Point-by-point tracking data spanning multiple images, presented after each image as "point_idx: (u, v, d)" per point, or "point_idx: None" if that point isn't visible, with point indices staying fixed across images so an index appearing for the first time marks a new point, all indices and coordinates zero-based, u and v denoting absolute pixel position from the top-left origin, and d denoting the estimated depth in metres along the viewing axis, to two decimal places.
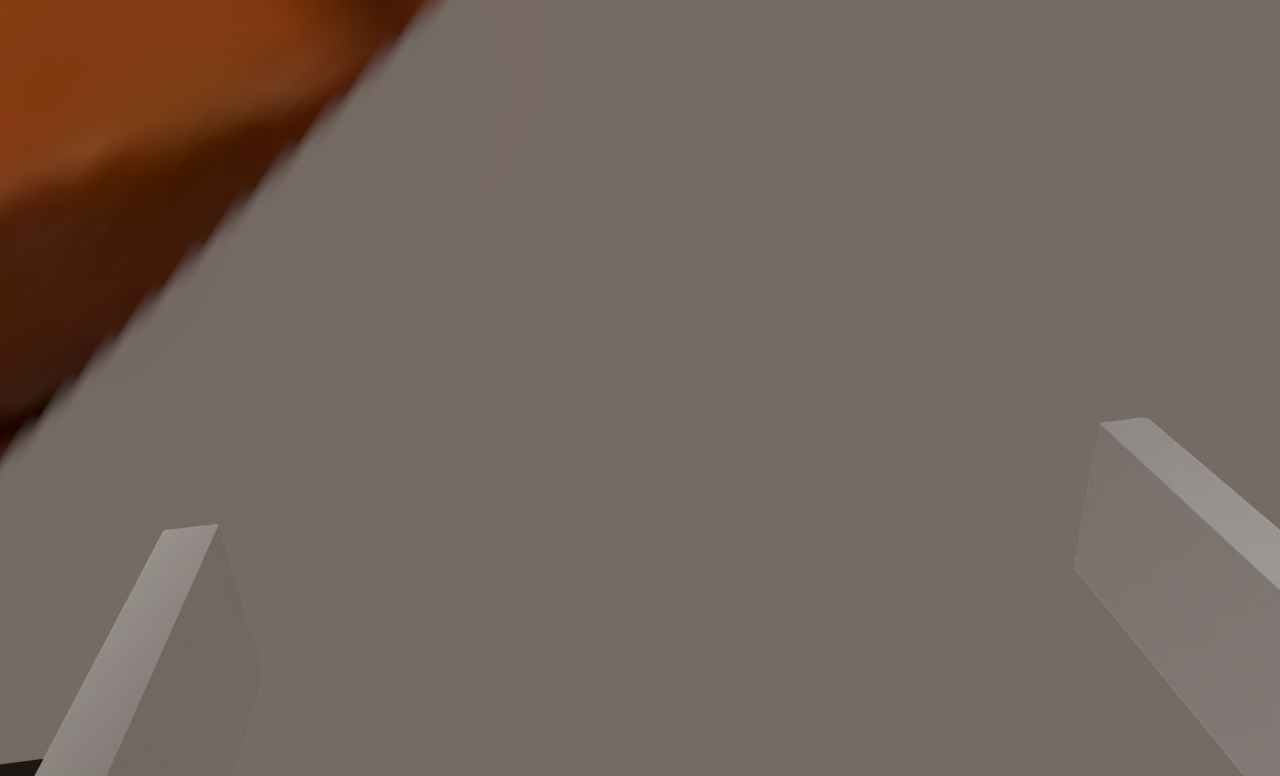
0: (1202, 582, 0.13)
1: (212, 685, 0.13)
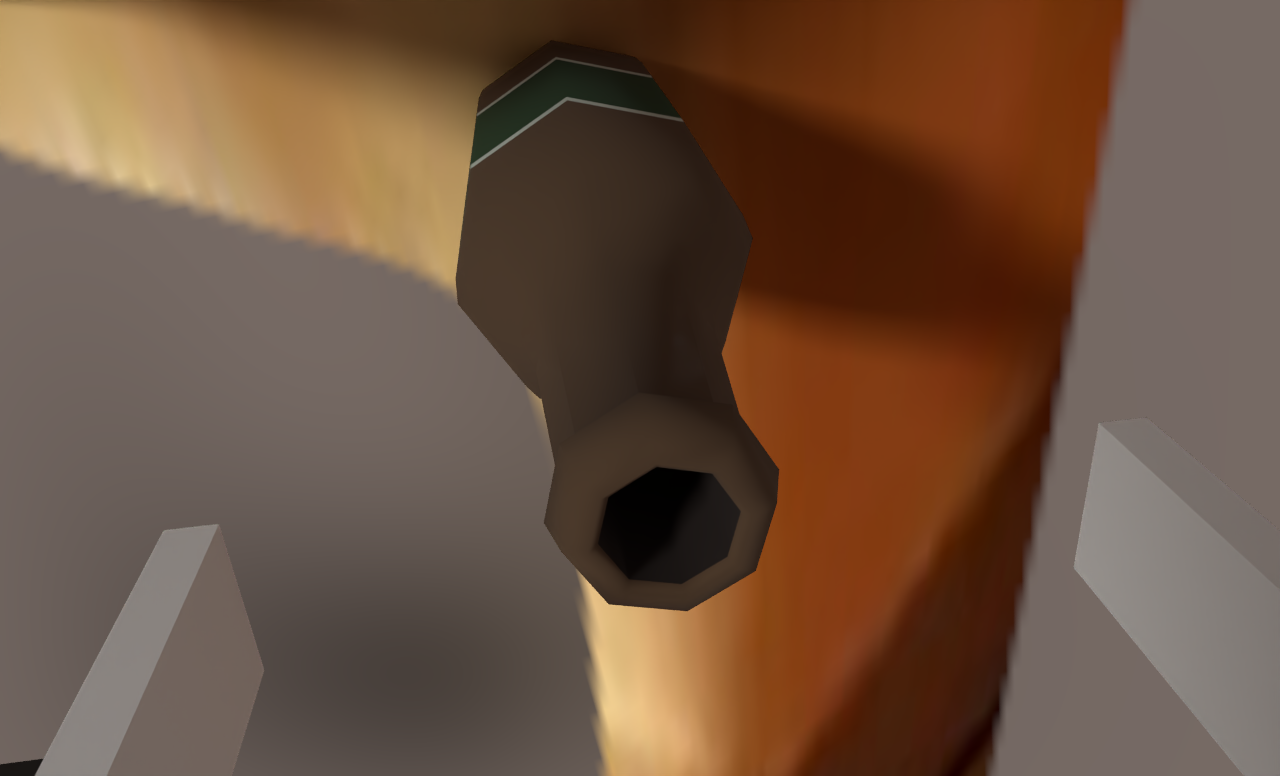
0: (1202, 582, 0.13)
1: (212, 685, 0.13)
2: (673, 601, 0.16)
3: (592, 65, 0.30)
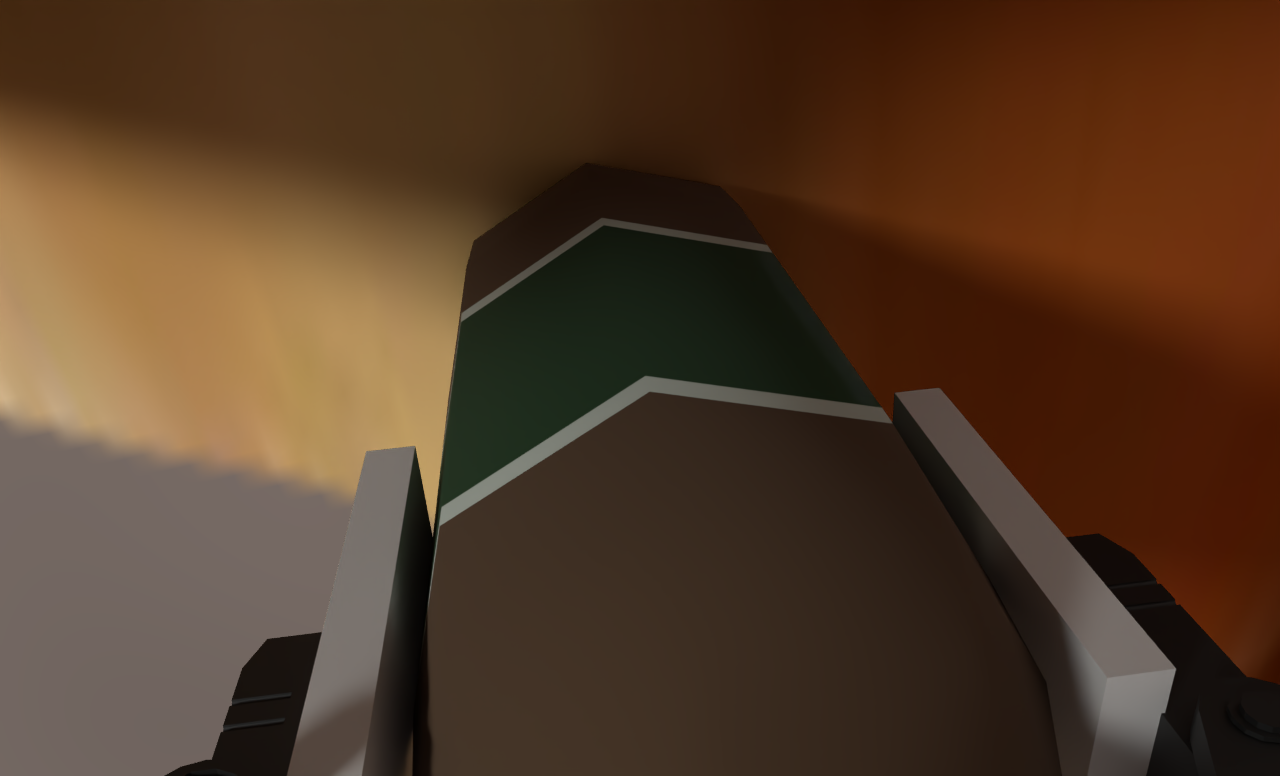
0: None
1: (420, 584, 0.15)
2: None
3: (666, 232, 0.17)
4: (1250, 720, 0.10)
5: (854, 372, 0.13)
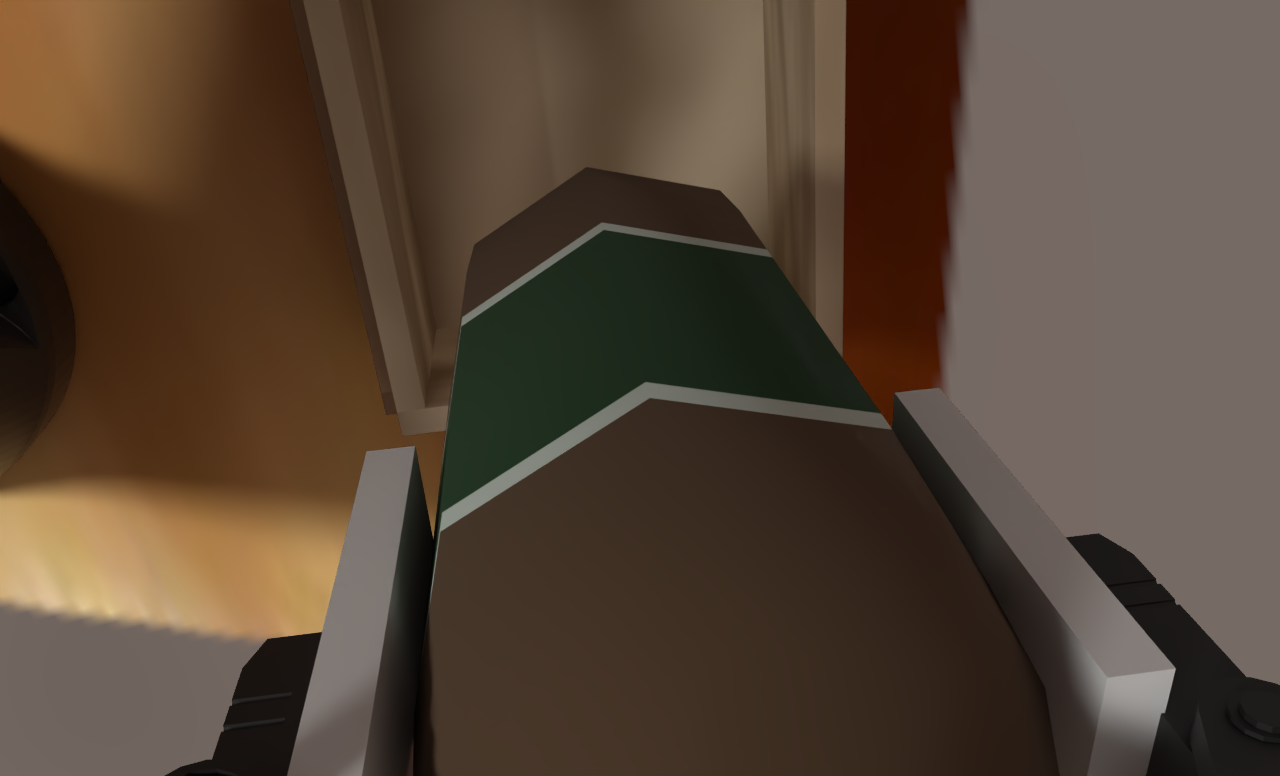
0: (959, 534, 0.14)
1: (420, 584, 0.15)
2: None
3: (666, 237, 0.17)
4: (1250, 720, 0.10)
5: (853, 378, 0.13)
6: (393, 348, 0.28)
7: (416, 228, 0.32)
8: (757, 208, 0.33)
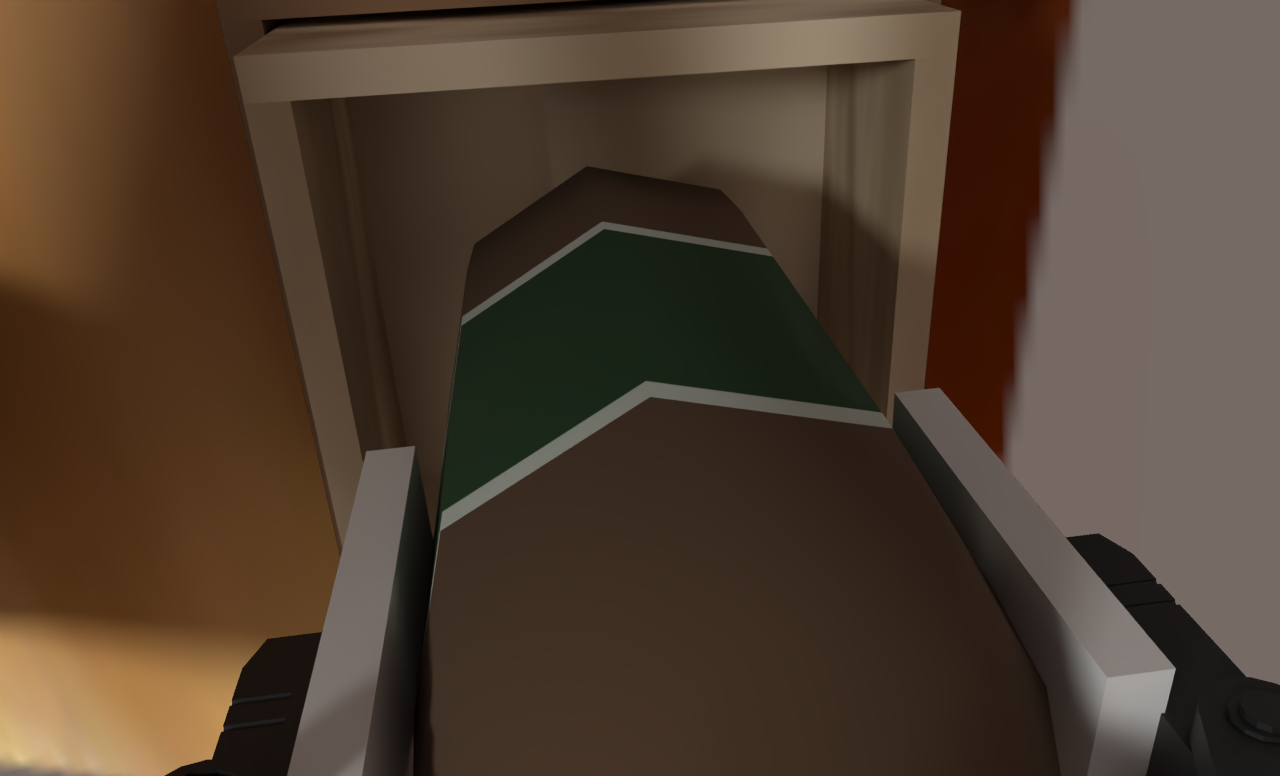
0: None
1: (421, 584, 0.15)
2: None
3: (667, 236, 0.17)
4: (1250, 720, 0.10)
5: (854, 377, 0.13)
6: None
7: (392, 364, 0.26)
8: None
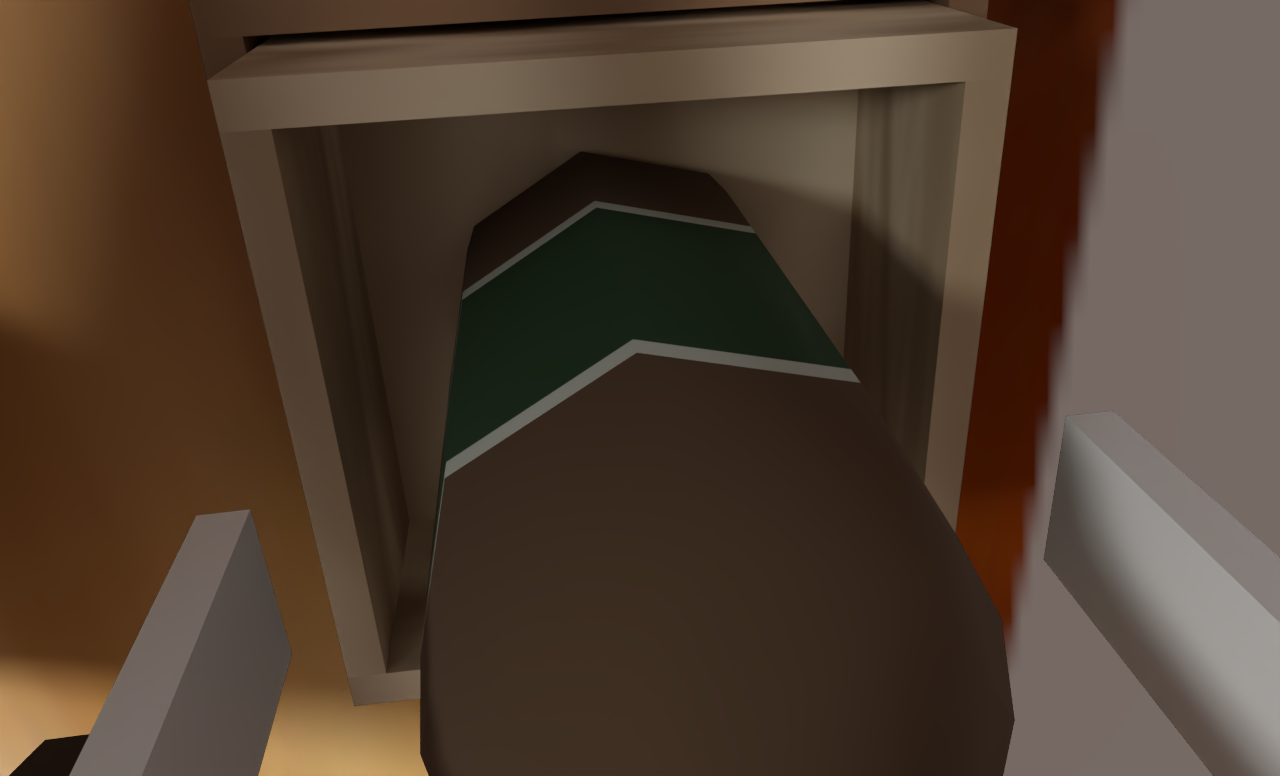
0: (1162, 571, 0.13)
1: (245, 665, 0.13)
2: None
3: (656, 214, 0.18)
4: None
5: (827, 339, 0.14)
6: (344, 602, 0.20)
7: (388, 402, 0.24)
8: None
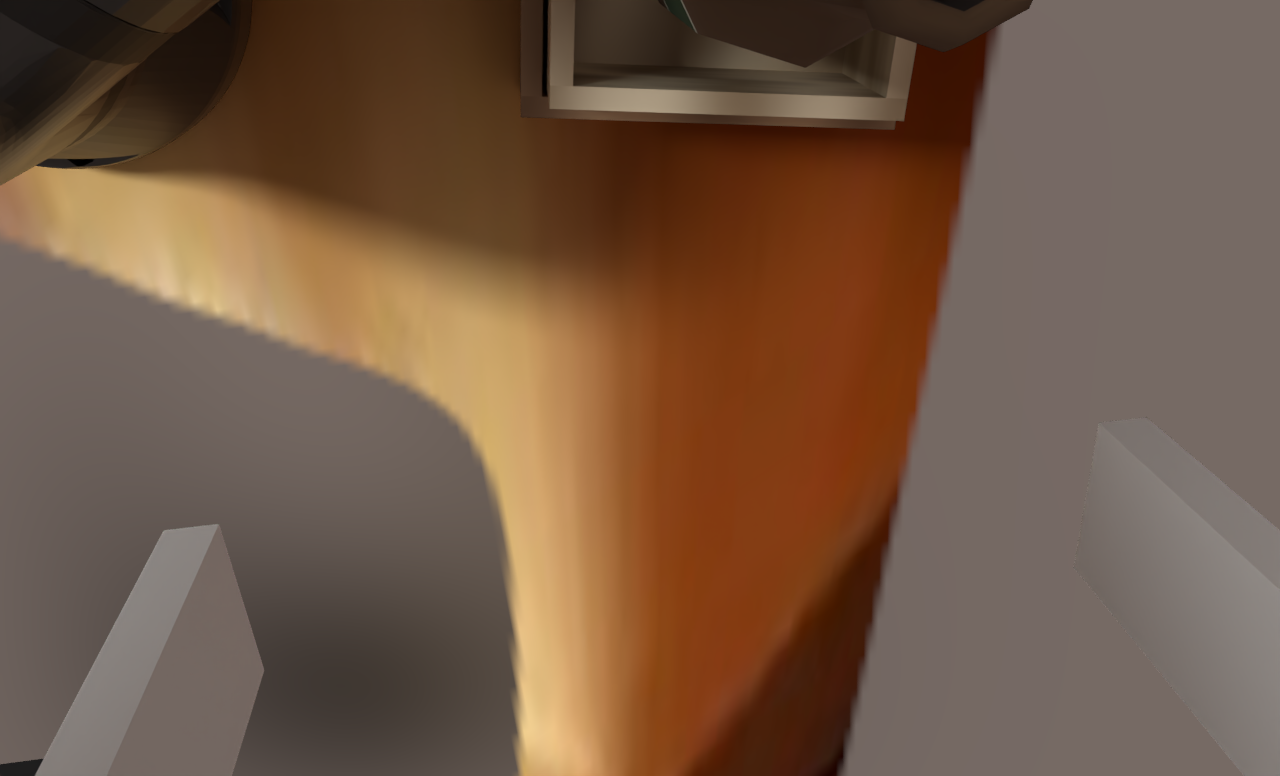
0: (1202, 582, 0.13)
1: (212, 685, 0.13)
2: (956, 25, 0.17)
3: None
4: None
5: None
6: (559, 26, 0.34)
7: None
8: None
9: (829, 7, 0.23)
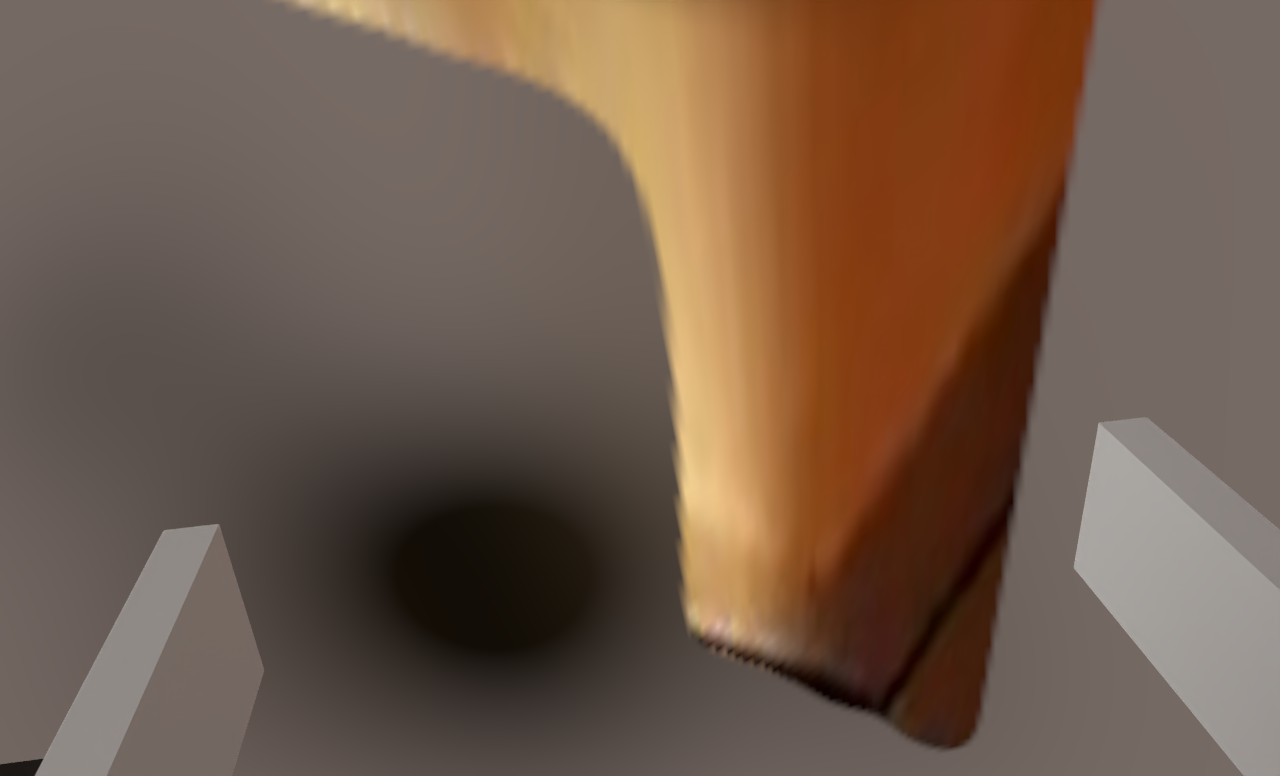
0: (1202, 581, 0.13)
1: (212, 685, 0.13)
2: None
3: None
4: None
5: None
6: None
7: None
8: None
9: None
